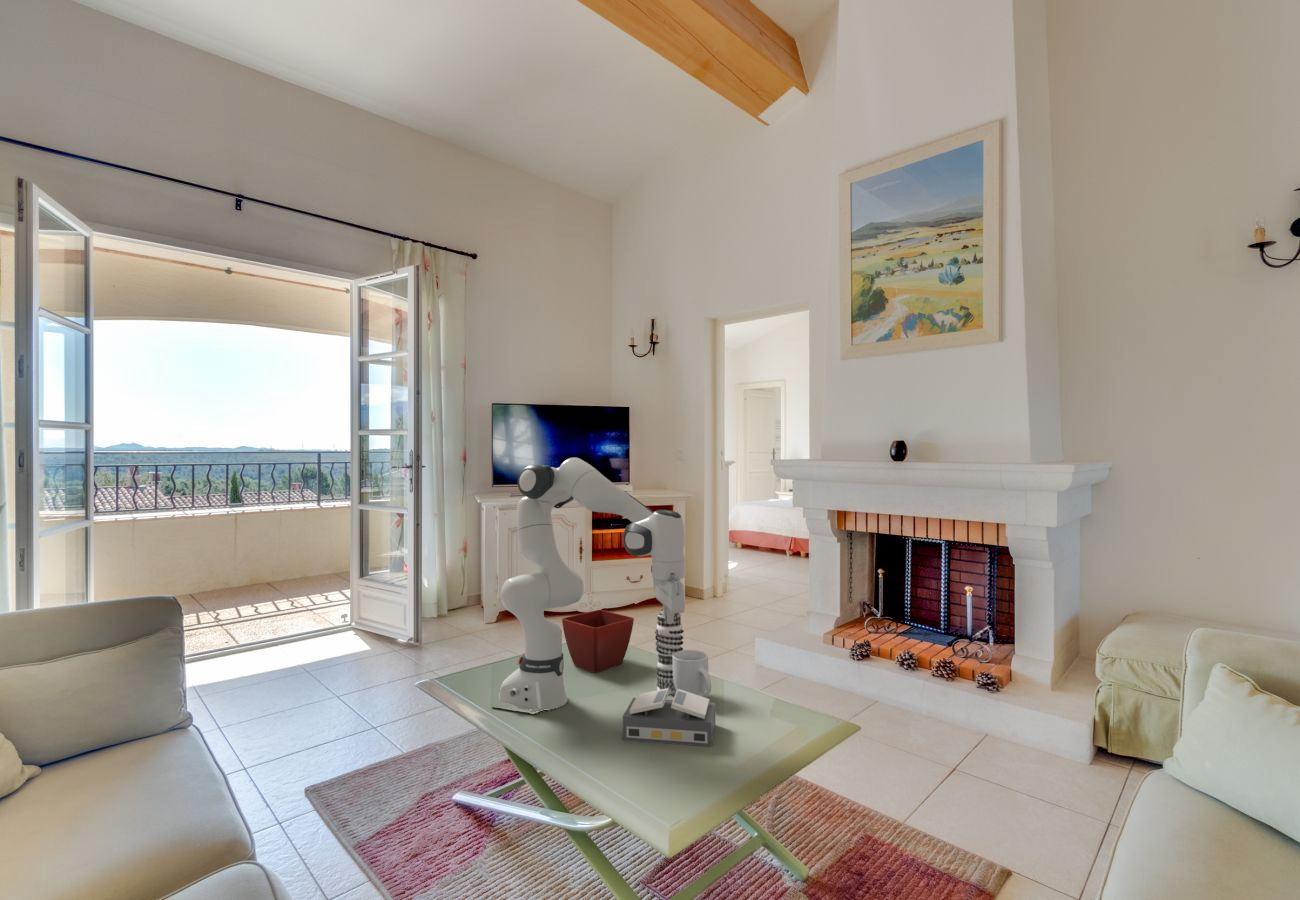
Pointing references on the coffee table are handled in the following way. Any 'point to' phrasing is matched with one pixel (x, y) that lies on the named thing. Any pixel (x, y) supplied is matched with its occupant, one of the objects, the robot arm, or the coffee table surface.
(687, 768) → the coffee table surface
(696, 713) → the rocker right
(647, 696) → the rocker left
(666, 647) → the black and white cylinder
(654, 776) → the coffee table surface
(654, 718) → the switch console
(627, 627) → the plant pot
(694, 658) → the mug
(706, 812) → the coffee table surface
